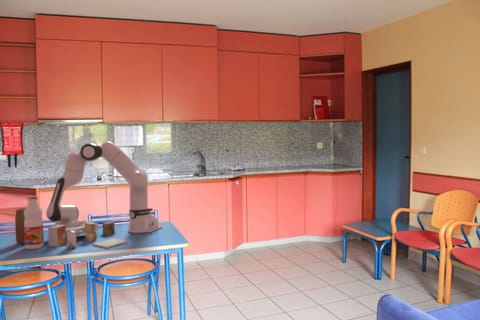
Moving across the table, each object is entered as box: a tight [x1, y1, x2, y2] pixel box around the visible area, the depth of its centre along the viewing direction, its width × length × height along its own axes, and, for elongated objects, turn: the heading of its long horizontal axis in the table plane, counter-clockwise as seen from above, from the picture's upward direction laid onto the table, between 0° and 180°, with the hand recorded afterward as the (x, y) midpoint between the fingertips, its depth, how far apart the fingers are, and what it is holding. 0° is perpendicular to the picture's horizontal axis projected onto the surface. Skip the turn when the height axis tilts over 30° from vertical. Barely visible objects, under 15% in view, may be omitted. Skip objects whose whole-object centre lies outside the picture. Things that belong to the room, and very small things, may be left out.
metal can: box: [66, 231, 78, 250], centre depth 226 cm, size 5×5×9 cm
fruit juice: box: [24, 195, 45, 250], centre depth 228 cm, size 9×9×28 cm
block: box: [14, 207, 26, 246], centre depth 238 cm, size 11×8×20 cm
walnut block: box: [102, 221, 116, 236], centre depth 258 cm, size 5×5×7 cm
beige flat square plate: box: [92, 238, 128, 250], centre depth 233 cm, size 14×12×1 cm
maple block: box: [84, 221, 98, 243], centre depth 242 cm, size 4×4×10 cm
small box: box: [47, 224, 67, 247], centre depth 233 cm, size 8×6×10 cm
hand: (89, 230), depth 243 cm, fingers open, 8 cm apart
